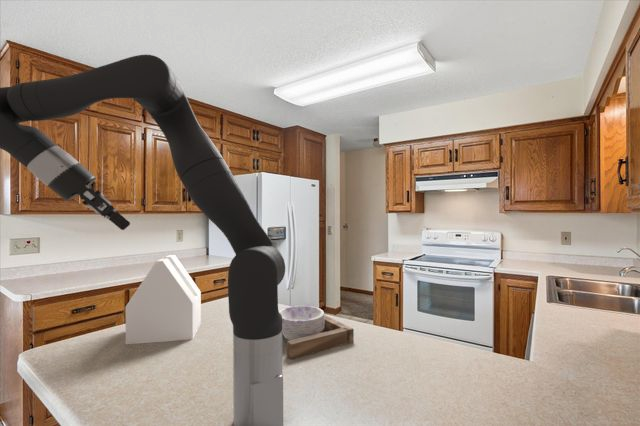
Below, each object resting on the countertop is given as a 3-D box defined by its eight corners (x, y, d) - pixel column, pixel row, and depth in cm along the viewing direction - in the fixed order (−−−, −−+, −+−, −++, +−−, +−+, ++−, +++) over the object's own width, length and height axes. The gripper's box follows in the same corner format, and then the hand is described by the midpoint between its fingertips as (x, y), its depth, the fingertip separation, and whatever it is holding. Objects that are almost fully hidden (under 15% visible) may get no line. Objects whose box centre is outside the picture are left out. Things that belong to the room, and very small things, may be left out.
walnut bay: (353, 341, 100) (353, 328, 100) (291, 359, 89) (291, 344, 89) (311, 319, 121) (311, 308, 121) (256, 331, 110) (256, 319, 110)
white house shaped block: (125, 344, 99) (125, 262, 99) (143, 327, 114) (142, 255, 114) (192, 339, 103) (192, 260, 103) (200, 323, 118) (200, 254, 118)
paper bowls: (281, 349, 95) (281, 322, 95) (273, 331, 110) (273, 307, 110) (331, 343, 100) (330, 317, 100) (316, 326, 114) (316, 303, 114)
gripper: (75, 156, 64) (141, 215, 70) (80, 165, 76) (137, 214, 82) (39, 182, 61) (112, 241, 67) (51, 187, 73) (112, 236, 79)
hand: (126, 226), depth 75 cm, fingers open, 8 cm apart
